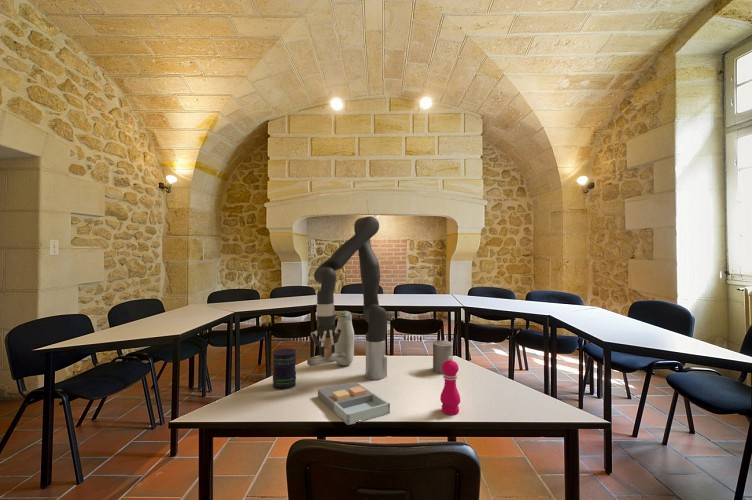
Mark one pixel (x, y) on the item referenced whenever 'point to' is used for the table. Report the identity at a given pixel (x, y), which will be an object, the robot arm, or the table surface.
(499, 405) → the table surface
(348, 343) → the grey bottle
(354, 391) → the tile
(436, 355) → the pillar candle
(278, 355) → the storage jar
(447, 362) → the pepper mill
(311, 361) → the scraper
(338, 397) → the tile
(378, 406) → the tray
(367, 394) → the board
